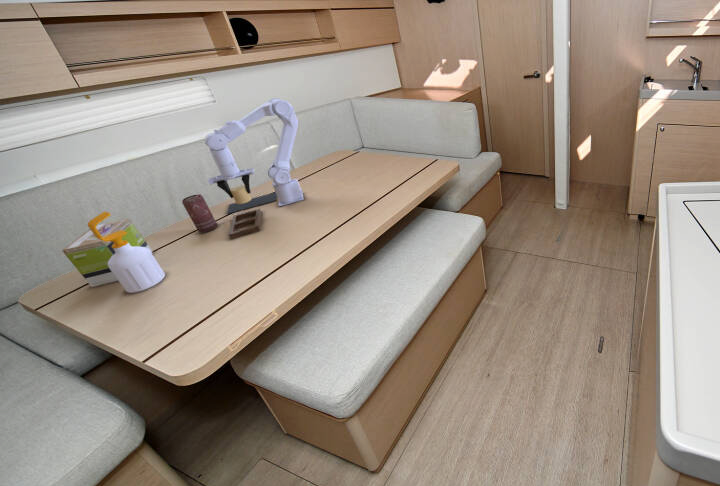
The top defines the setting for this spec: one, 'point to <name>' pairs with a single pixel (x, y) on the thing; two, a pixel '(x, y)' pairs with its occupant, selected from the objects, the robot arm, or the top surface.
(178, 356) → the top surface
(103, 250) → the tea box
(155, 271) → the soap bottle
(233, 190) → the yellow wooden cylinder
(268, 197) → the mat
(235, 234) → the holder
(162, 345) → the top surface
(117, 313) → the top surface
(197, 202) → the can
